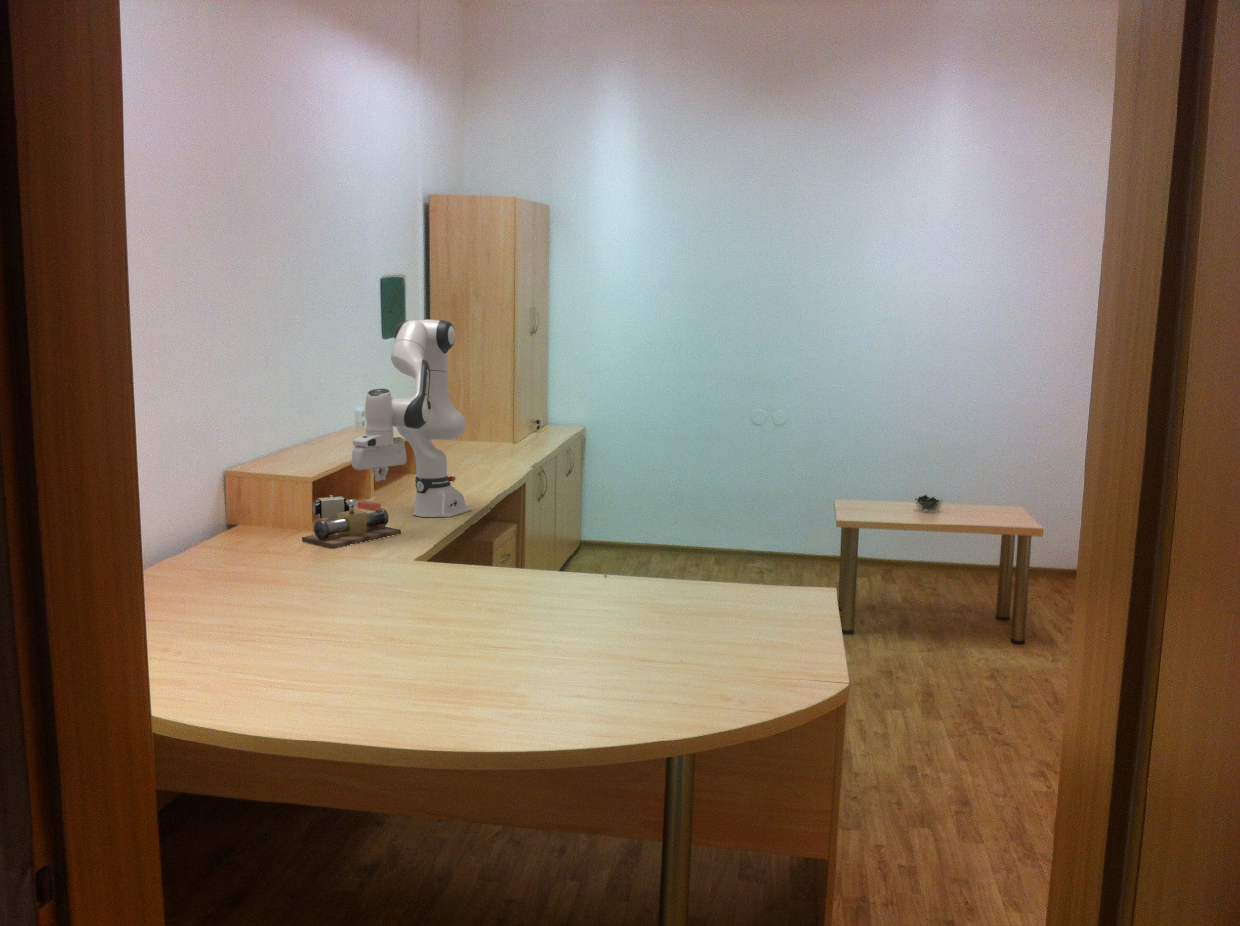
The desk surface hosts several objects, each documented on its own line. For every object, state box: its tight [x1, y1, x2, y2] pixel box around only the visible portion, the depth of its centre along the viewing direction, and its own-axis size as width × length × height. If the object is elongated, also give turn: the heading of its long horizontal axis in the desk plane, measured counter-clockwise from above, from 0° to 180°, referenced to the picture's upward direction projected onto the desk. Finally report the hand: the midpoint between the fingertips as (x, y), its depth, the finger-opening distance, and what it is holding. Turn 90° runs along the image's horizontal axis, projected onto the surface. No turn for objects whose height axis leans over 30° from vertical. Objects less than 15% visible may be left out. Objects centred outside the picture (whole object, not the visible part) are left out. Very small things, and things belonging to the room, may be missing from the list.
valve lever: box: [346, 498, 382, 512], centre depth 338 cm, size 14×3×2 cm, turn 53°
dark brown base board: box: [301, 524, 402, 550], centre depth 343 cm, size 28×16×3 cm, turn 143°
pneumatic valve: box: [312, 494, 349, 521], centre depth 355 cm, size 6×12×12 cm, turn 117°
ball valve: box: [313, 505, 389, 539], centre depth 343 cm, size 26×6×9 cm, turn 143°
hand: (380, 480), depth 339 cm, fingers closed
